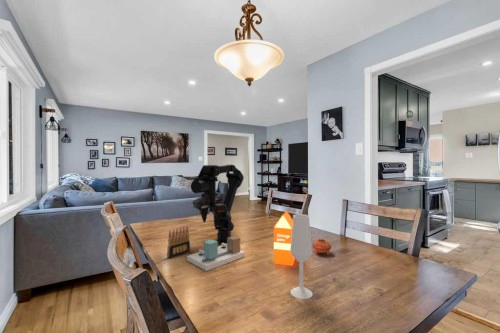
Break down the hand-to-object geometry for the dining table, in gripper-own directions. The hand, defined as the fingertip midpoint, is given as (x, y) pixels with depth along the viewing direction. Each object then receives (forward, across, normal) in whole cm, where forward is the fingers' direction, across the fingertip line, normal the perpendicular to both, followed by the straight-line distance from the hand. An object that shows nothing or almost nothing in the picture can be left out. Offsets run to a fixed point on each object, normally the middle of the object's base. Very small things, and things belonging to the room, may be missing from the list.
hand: (209, 223), depth 113 cm
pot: (+12, +41, +32) cm, 53 cm away
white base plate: (+12, +12, -5) cm, 18 cm away
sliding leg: (+9, +12, -10) cm, 18 cm away
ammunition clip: (+12, -4, -14) cm, 19 cm away
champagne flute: (+12, +53, -3) cm, 54 cm away
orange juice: (+12, +34, +14) cm, 39 cm away
